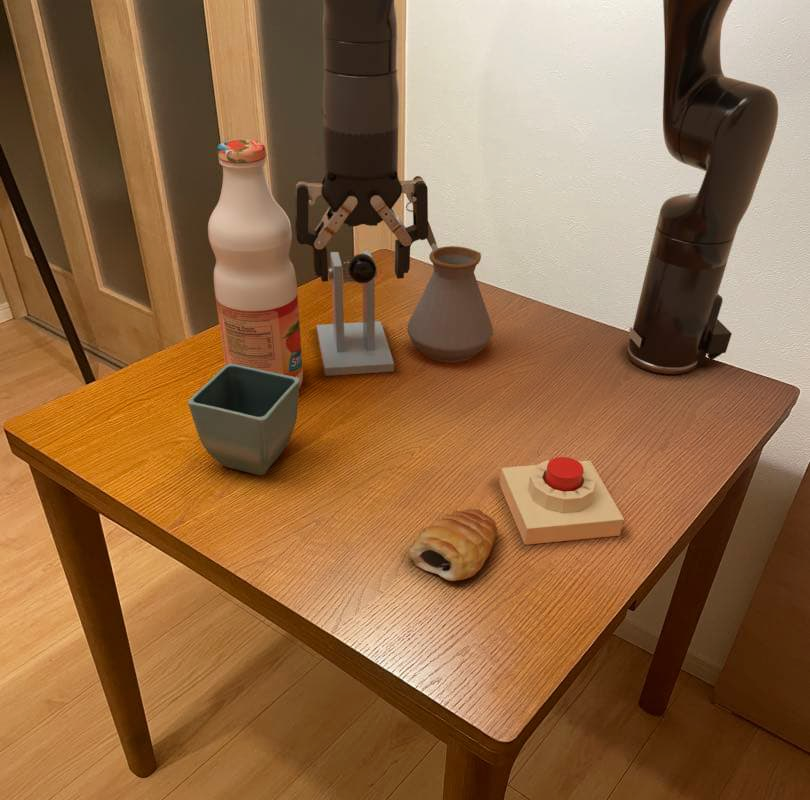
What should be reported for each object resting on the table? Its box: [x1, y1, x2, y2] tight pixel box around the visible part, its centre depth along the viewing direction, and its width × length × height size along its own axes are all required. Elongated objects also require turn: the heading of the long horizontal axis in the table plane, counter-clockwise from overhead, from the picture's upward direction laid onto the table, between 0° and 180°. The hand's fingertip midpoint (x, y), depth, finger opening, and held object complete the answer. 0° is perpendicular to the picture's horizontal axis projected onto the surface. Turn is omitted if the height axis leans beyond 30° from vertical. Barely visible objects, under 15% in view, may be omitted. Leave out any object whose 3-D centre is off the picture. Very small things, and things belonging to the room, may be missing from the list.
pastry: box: [408, 508, 498, 582], centre depth 77 cm, size 9×7×4 cm
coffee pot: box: [405, 201, 494, 363], centre depth 107 cm, size 21×12×15 cm, turn 20°
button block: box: [498, 459, 625, 546], centre depth 82 cm, size 10×10×4 cm
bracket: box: [316, 250, 395, 377], centre depth 103 cm, size 12×9×13 cm
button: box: [545, 456, 584, 492], centre depth 80 cm, size 4×4×2 cm
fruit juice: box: [207, 138, 304, 389], centre depth 91 cm, size 9×9×28 cm
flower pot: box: [187, 364, 300, 476], centre depth 86 cm, size 9×9×9 cm
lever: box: [341, 253, 377, 285], centre depth 95 cm, size 14×3×3 cm, turn 10°
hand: (362, 277), depth 90 cm, fingers open, 8 cm apart
